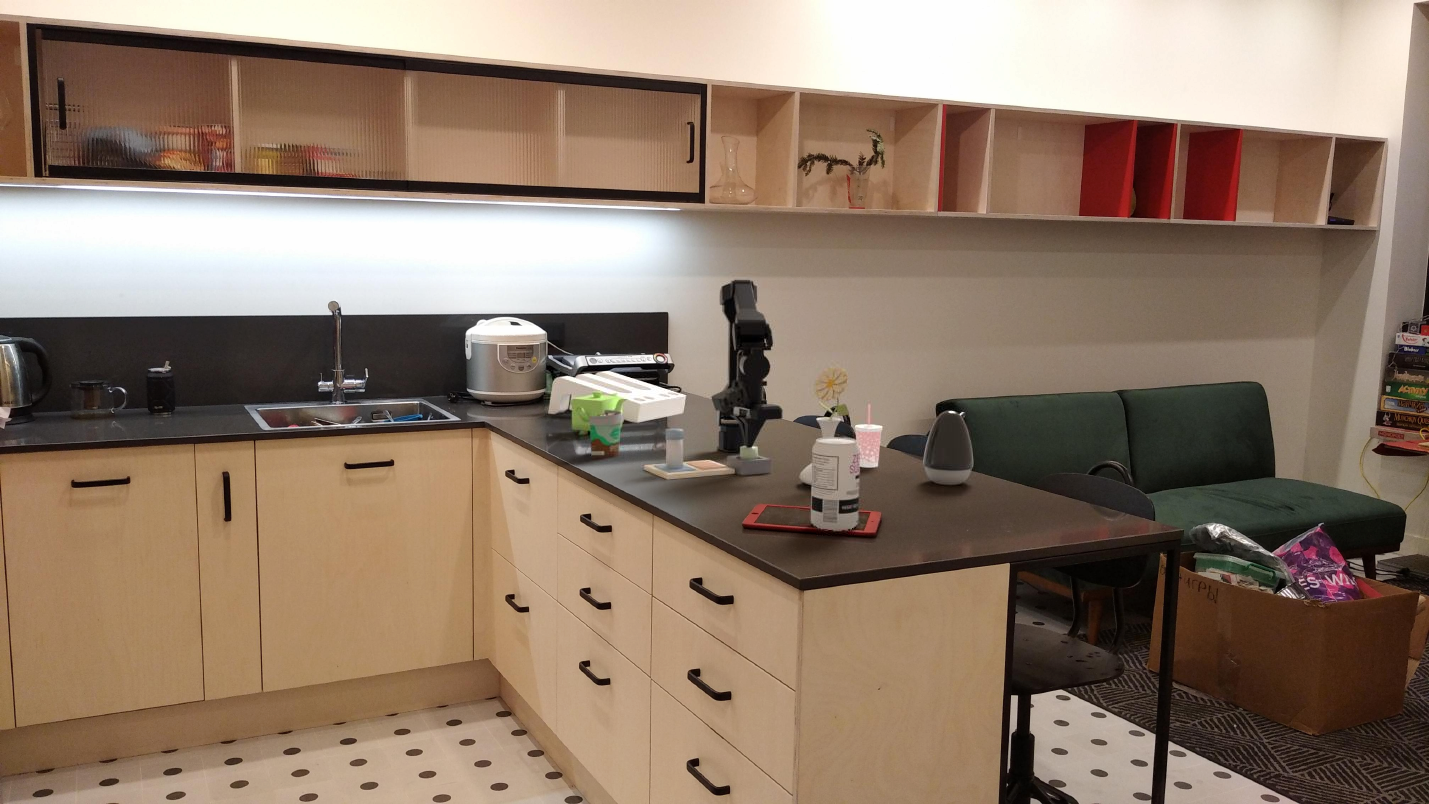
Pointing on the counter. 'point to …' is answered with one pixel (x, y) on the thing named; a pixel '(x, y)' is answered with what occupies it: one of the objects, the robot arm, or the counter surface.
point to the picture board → (690, 469)
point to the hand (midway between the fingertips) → (749, 447)
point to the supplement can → (835, 483)
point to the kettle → (592, 408)
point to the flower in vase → (826, 389)
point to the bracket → (640, 395)
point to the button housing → (749, 465)
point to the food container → (605, 434)
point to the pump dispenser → (948, 450)
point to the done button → (748, 453)
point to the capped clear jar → (674, 448)
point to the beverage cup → (868, 442)
